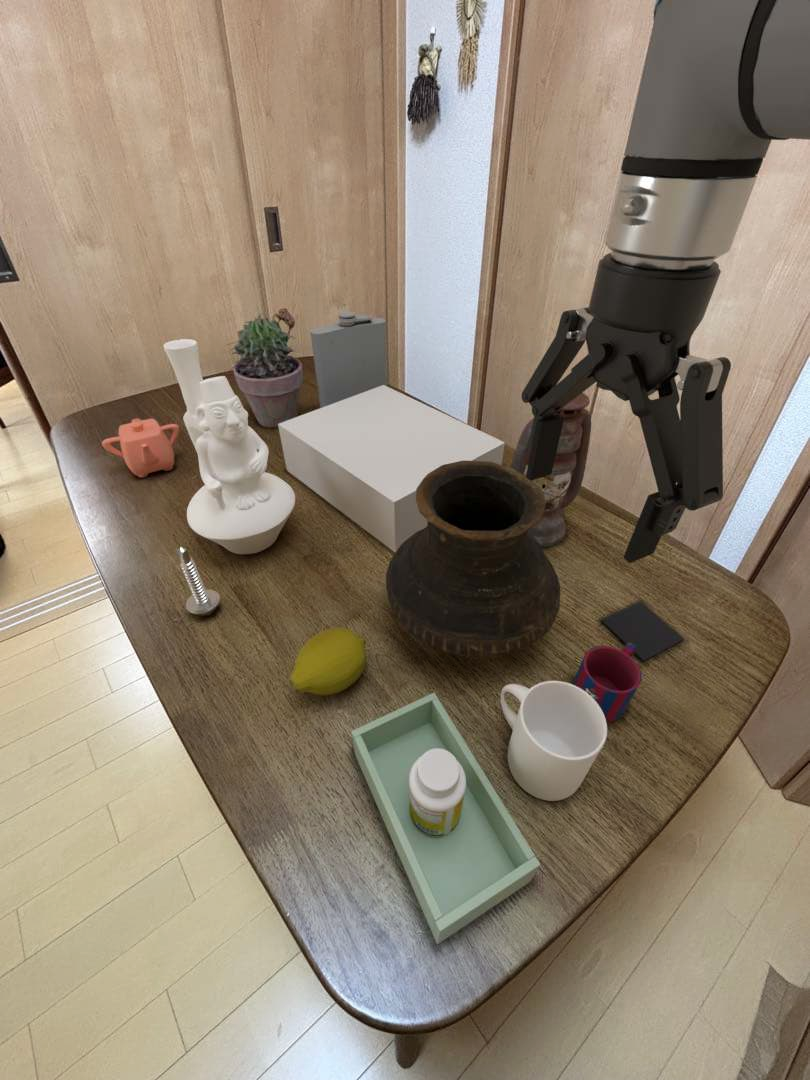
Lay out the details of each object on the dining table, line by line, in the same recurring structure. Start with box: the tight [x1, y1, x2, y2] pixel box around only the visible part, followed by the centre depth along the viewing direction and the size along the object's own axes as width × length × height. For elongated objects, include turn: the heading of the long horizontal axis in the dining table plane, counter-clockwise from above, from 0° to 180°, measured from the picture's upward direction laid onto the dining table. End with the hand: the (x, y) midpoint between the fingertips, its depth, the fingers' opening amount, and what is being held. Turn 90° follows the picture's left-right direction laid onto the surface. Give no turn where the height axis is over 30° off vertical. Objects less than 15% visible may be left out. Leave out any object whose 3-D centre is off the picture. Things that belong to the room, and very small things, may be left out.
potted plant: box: [224, 308, 304, 429], centre depth 112 cm, size 18×20×25 cm
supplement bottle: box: [409, 748, 466, 837], centre depth 48 cm, size 6×6×10 cm
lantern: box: [509, 392, 592, 549], centre depth 76 cm, size 11×16×35 cm
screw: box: [175, 546, 221, 618], centre depth 69 cm, size 13×5×5 cm
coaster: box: [600, 601, 685, 663], centre depth 70 cm, size 8×8×1 cm
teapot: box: [101, 418, 180, 478], centre depth 101 cm, size 14×12×10 cm
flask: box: [309, 310, 388, 409], centre depth 112 cm, size 17×5×25 cm, turn 119°
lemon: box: [289, 626, 367, 696], centre depth 62 cm, size 11×8×8 cm
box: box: [277, 385, 506, 553], centre depth 96 cm, size 28×35×11 cm
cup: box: [571, 642, 642, 724], centre depth 61 cm, size 7×10×7 cm
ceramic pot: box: [385, 460, 561, 659], centre depth 65 cm, size 24×24×22 cm
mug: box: [500, 680, 608, 802], centre depth 53 cm, size 9×12×11 cm
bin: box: [351, 692, 541, 945], centre depth 50 cm, size 20×11×6 cm, turn 27°
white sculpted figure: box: [162, 338, 296, 555], centre depth 77 cm, size 18×22×32 cm
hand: (583, 512), depth 46 cm, fingers open, 13 cm apart
